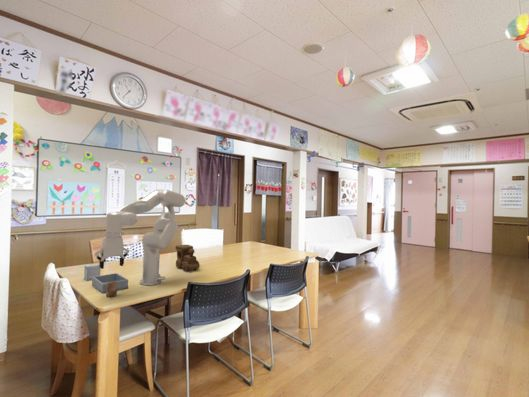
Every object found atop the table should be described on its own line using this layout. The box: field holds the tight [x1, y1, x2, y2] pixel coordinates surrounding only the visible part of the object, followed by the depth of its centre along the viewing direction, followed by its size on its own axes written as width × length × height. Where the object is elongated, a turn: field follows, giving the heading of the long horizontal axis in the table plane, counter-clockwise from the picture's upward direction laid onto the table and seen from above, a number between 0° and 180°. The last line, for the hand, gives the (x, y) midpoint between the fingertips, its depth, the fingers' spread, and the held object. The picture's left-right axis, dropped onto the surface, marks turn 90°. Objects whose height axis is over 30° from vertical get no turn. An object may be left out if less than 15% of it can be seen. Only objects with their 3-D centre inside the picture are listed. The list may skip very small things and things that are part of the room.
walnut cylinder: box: [105, 281, 118, 298], centre depth 150 cm, size 5×5×7 cm
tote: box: [91, 272, 129, 294], centre depth 163 cm, size 18×14×5 cm
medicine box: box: [83, 263, 101, 281], centre depth 176 cm, size 8×4×9 cm, turn 141°
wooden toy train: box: [175, 244, 200, 272], centre depth 209 cm, size 20×11×17 cm, turn 46°
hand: (111, 266), depth 149 cm, fingers open, 9 cm apart
